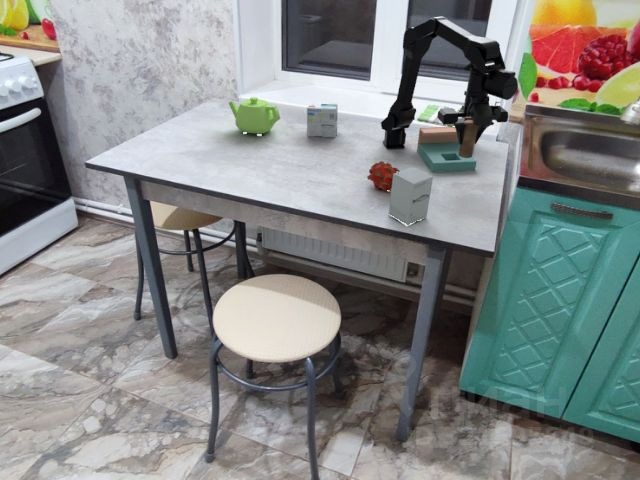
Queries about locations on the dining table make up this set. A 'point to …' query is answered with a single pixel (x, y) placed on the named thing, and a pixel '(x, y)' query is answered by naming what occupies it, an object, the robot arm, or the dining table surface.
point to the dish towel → (433, 114)
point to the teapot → (255, 115)
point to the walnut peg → (468, 139)
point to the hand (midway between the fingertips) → (467, 143)
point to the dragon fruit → (382, 175)
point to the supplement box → (410, 195)
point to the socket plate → (442, 150)
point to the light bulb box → (322, 119)
